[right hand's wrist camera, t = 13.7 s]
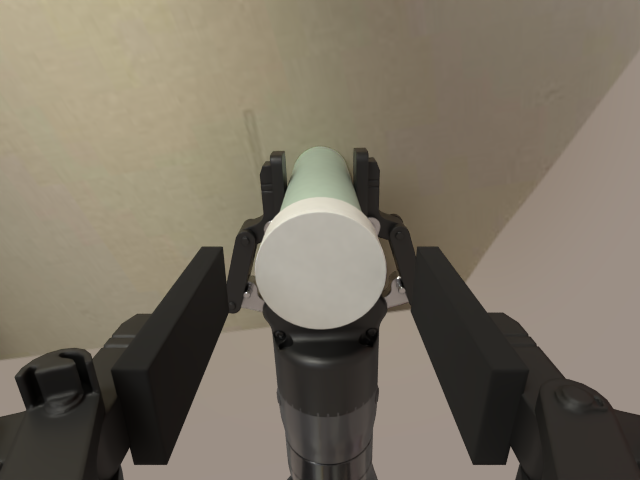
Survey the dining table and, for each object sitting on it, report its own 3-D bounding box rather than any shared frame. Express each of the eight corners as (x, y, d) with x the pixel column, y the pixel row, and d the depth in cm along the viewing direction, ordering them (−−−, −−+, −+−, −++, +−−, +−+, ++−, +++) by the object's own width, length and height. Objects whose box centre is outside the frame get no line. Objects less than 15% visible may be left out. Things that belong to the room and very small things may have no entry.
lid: (271, 185, 15) (264, 199, 13) (393, 209, 15) (403, 225, 13) (254, 293, 17) (246, 318, 15) (363, 312, 17) (368, 338, 15)
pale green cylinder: (298, 140, 29) (273, 205, 14) (353, 152, 29) (389, 227, 14) (289, 194, 30) (257, 306, 15) (341, 204, 31) (361, 324, 16)
